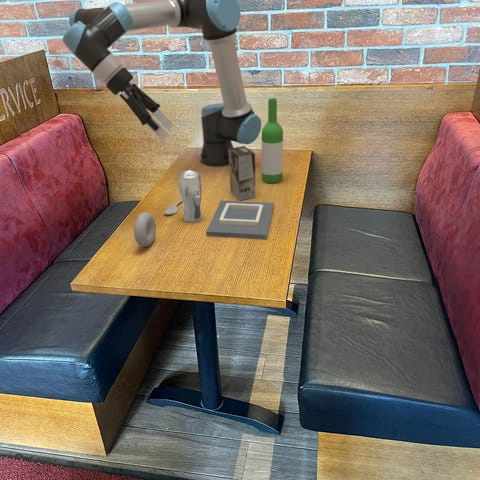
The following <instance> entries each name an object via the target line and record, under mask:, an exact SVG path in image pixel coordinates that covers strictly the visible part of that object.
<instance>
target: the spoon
mask: <svg viewBox="0 0 480 480" xmlns="http://www.w3.org/2000/svg"><path fill="white" fill-rule="evenodd" d="M181 202H182V200H181V198H180V199H179V200H178V201H177V202H176V203H173V204H172V205H170V206H169V207H167V208H166V209H165V211H164V212H163V213H164V215H174V214H176V213H178V212H179V209H178V204H180V203H181ZM170 212H172V213H170Z"/></svg>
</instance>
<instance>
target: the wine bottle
mask: <svg viewBox="0 0 480 480" xmlns="http://www.w3.org/2000/svg"><path fill="white" fill-rule="evenodd" d="M277 101H278V100H277V98H268V102H267V103H268V105H267V107H268V109H267V111H268V113H267V120H268V121H267V123H265V125H264V126H263V127H262V128H261V178H262V181H263V182H265V183H267V184H277V183H279V182H281V181H282V180H283V171H284V170H283V168H284V165H283V164H284V130H283V127H282V125H281V124H280V123H279V122H278V121H277V120H278V119H277V117H278V115H277V113H278V107H277V105H278V104H277V103H278V102H277Z"/></svg>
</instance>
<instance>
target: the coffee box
mask: <svg viewBox="0 0 480 480" xmlns="http://www.w3.org/2000/svg"><path fill="white" fill-rule="evenodd" d="M255 155H256V154H255V152H253V151H252V150H250V148H248V147H246V145H243V146H237V147H234V148H231V149H229V164H228V166H229V185H230V192H231V193H232V195H234V196H235V197H236V198H237V199H238V201H245V200H248V199H255V198H256V158H255V157H256V156H255Z"/></svg>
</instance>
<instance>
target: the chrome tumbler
mask: <svg viewBox="0 0 480 480" xmlns="http://www.w3.org/2000/svg"><path fill="white" fill-rule="evenodd" d="M177 175H178V176H177V177H178V191H179V195H180V199H181V200H182V201H181V202H182V205H183V220H184V221H185V222H187V223H196V222H200V221H201V220H203V213H202V210H201V201H202V194H203V193H202V189H203V188H202V179H201V174H200V172H199V171H197V170H196V171H195V170H185V171H181V172H180V173H179V174H177Z"/></svg>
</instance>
